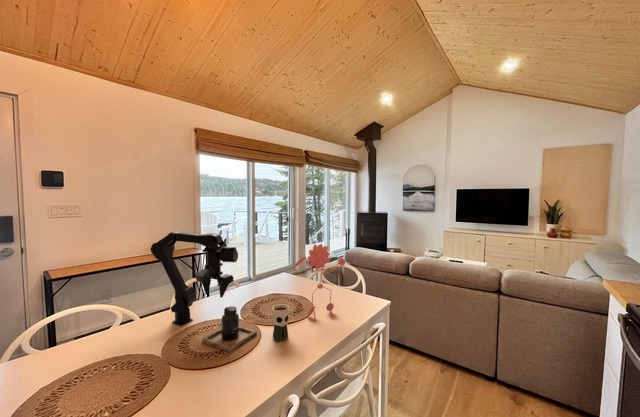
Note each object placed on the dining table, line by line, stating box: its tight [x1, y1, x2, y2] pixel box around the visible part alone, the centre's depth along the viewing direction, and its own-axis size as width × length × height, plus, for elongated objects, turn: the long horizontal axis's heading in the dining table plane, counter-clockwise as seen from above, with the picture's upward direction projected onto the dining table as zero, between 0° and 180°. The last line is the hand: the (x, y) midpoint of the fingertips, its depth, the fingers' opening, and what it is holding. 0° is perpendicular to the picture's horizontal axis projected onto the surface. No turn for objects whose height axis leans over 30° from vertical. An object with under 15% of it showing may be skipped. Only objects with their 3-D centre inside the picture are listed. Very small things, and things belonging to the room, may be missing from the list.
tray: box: [201, 325, 257, 353], centre depth 114 cm, size 15×15×2 cm
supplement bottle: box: [220, 306, 240, 341], centre depth 114 cm, size 7×7×12 cm
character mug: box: [267, 304, 294, 342], centre depth 114 cm, size 11×7×13 cm, turn 118°
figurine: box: [294, 243, 346, 321], centre depth 139 cm, size 15×26×35 cm, turn 116°
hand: (214, 295), depth 126 cm, fingers open, 9 cm apart
